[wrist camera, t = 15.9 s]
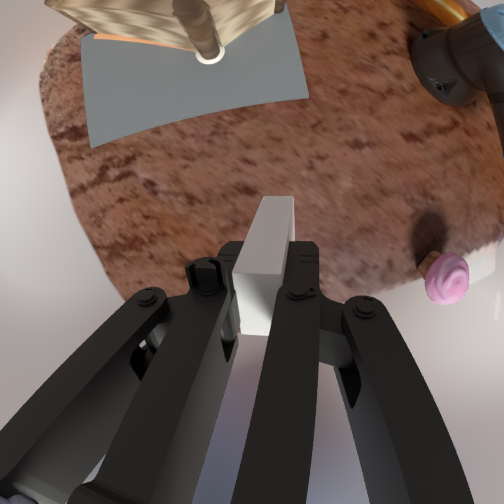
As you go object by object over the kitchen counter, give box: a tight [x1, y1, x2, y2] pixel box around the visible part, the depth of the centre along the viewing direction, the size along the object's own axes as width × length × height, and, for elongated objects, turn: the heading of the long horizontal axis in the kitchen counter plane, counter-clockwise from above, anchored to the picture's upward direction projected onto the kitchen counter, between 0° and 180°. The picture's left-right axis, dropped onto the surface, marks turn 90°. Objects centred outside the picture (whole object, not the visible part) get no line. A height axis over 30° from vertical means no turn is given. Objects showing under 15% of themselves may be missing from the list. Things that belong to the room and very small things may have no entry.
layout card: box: [81, 2, 309, 148], centre depth 36 cm, size 35×22×1 cm, turn 100°
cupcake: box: [417, 251, 469, 304], centre depth 41 cm, size 9×9×10 cm
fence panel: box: [44, 0, 197, 52], centre depth 27 cm, size 21×2×15 cm, turn 67°
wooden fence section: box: [172, 0, 286, 60], centre depth 26 cm, size 16×3×16 cm, turn 130°
